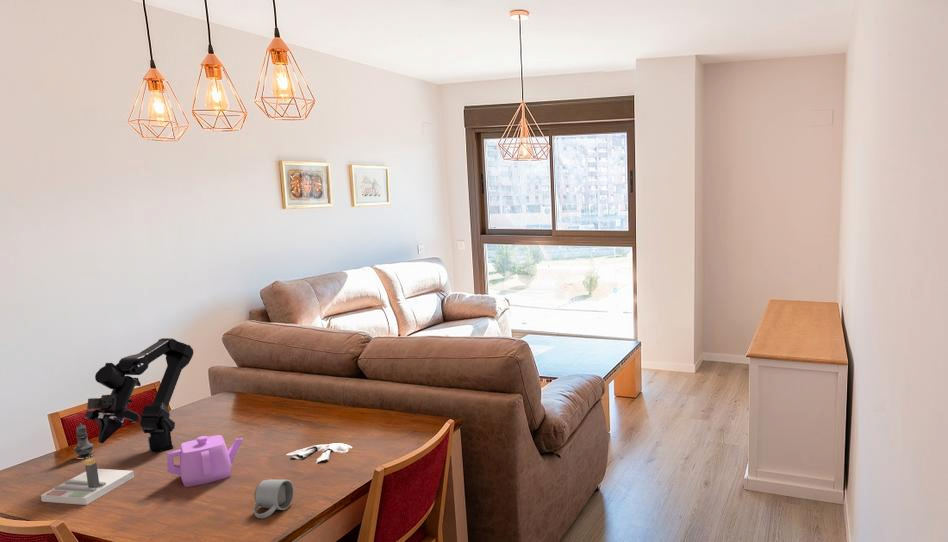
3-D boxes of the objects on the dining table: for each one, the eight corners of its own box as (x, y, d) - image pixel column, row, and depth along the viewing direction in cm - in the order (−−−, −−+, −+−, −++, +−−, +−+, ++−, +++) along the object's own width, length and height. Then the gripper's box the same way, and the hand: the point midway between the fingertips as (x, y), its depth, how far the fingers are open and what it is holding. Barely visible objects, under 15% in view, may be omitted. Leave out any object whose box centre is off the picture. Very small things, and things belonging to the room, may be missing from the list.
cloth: (361, 446, 216) (360, 439, 215) (321, 474, 196) (321, 467, 195) (311, 441, 224) (310, 434, 223) (268, 467, 204) (267, 460, 203)
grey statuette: (85, 460, 218) (80, 426, 216) (70, 459, 219) (65, 425, 217) (99, 453, 223) (94, 419, 222) (84, 452, 225) (79, 419, 223)
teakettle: (163, 486, 193) (158, 446, 192) (202, 462, 210) (198, 425, 208) (211, 490, 188) (206, 449, 187) (247, 465, 205) (243, 428, 203)
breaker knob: (94, 485, 192) (90, 458, 191) (100, 485, 191) (96, 458, 190) (88, 488, 190) (84, 461, 188) (94, 488, 189) (90, 461, 188)
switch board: (92, 474, 205) (91, 466, 205) (134, 476, 201) (133, 468, 201) (41, 501, 188) (40, 492, 188) (86, 504, 184) (85, 495, 184)
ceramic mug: (270, 498, 180) (267, 472, 179) (295, 501, 178) (292, 475, 177) (246, 518, 170) (242, 491, 169) (272, 521, 168) (269, 493, 167)
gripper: (80, 386, 205) (58, 435, 197) (118, 384, 196) (96, 434, 189) (110, 398, 213) (90, 445, 205) (148, 397, 205) (128, 446, 197)
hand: (100, 443), depth 199 cm, fingers closed
